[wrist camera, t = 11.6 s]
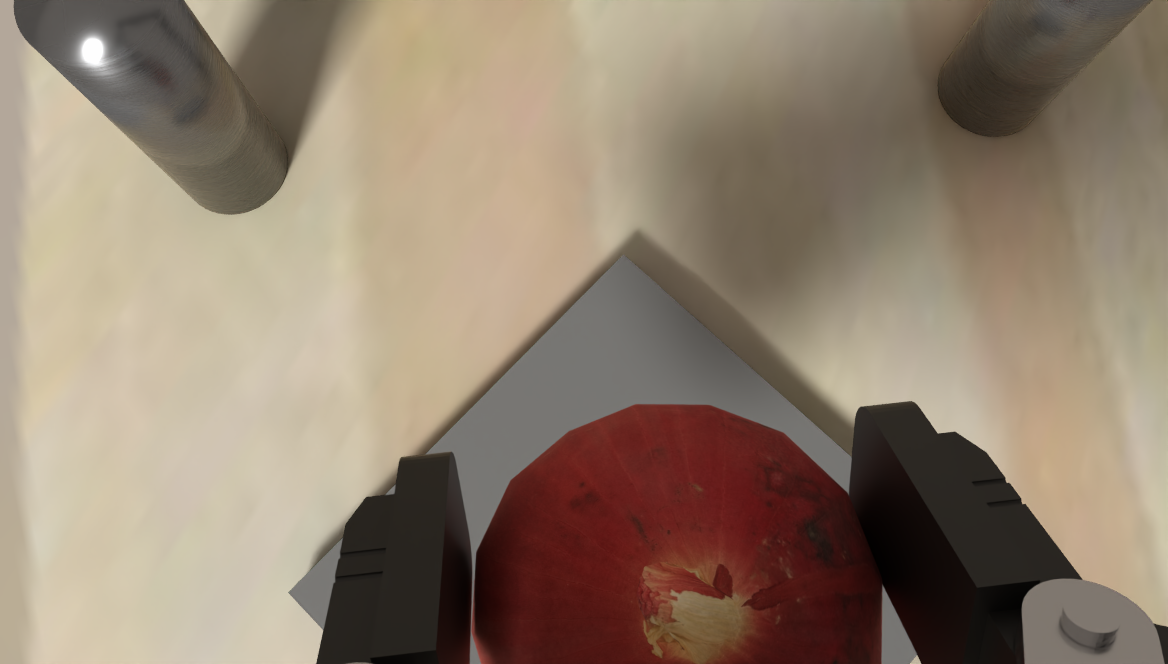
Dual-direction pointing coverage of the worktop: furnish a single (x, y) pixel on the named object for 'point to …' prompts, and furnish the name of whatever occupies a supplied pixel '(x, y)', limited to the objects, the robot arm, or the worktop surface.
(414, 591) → the robot arm
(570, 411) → the mat
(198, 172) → the spacer field
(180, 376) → the worktop surface
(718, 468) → the onion
